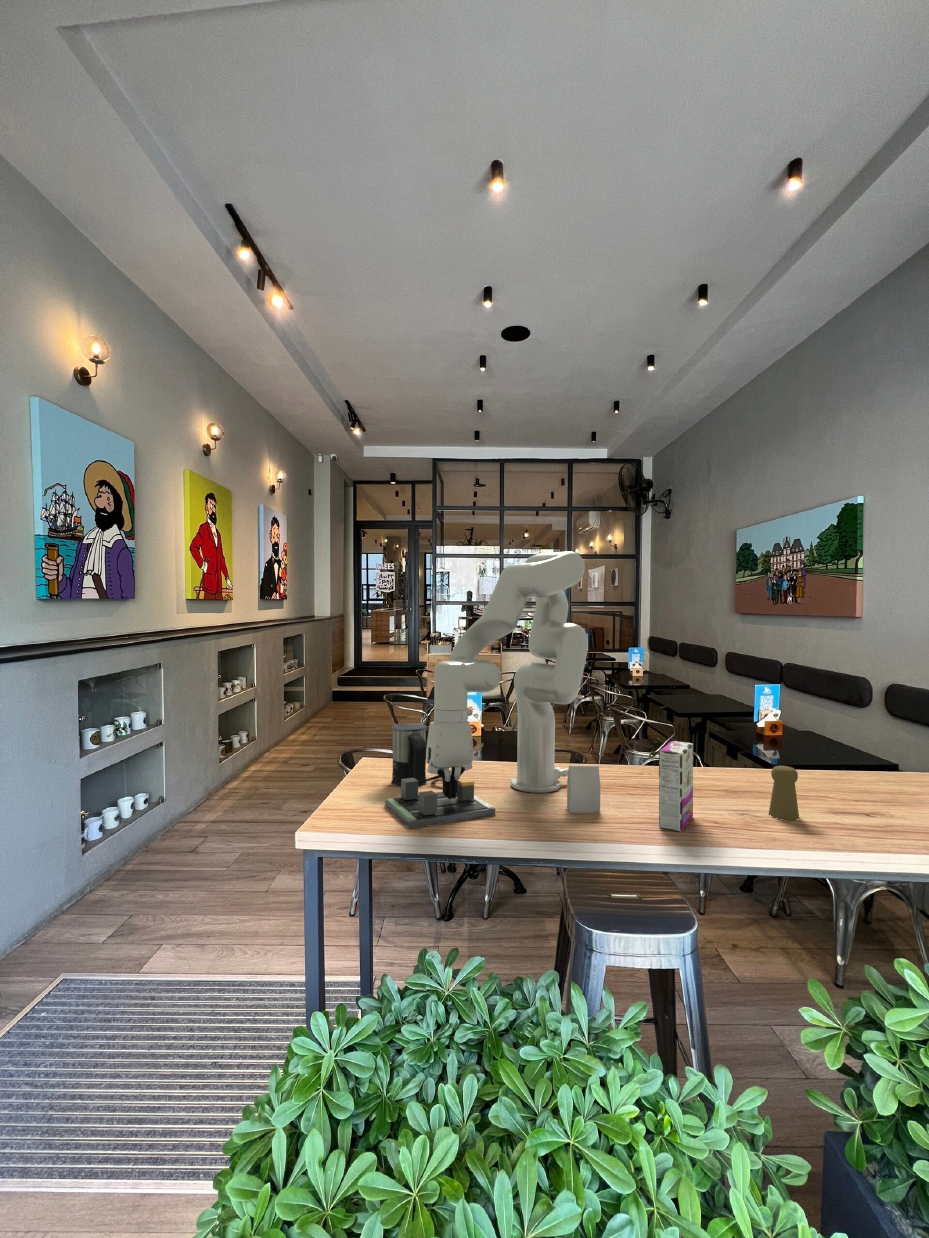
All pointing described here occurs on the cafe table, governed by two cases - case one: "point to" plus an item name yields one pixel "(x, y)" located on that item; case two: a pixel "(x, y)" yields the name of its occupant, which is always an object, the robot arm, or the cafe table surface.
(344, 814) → the cafe table surface
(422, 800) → the breaker near
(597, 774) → the grey boxy piece
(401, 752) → the milk frother
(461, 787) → the block
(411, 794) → the block
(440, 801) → the panel
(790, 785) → the cork
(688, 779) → the candy bar box
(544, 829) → the cafe table surface
